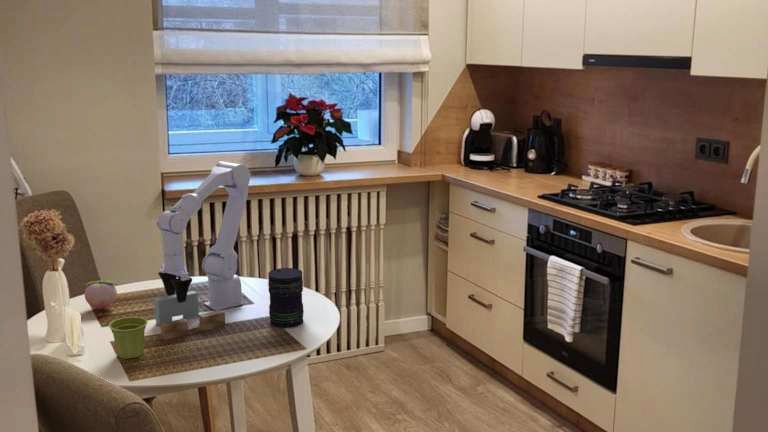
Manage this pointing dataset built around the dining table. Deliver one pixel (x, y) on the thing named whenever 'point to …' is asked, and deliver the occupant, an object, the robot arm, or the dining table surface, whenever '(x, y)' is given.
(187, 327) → the base rail
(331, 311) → the dining table surface
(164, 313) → the crosspiece
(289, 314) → the camera lens
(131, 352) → the plant pot
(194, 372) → the dining table surface
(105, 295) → the decorative fruit
